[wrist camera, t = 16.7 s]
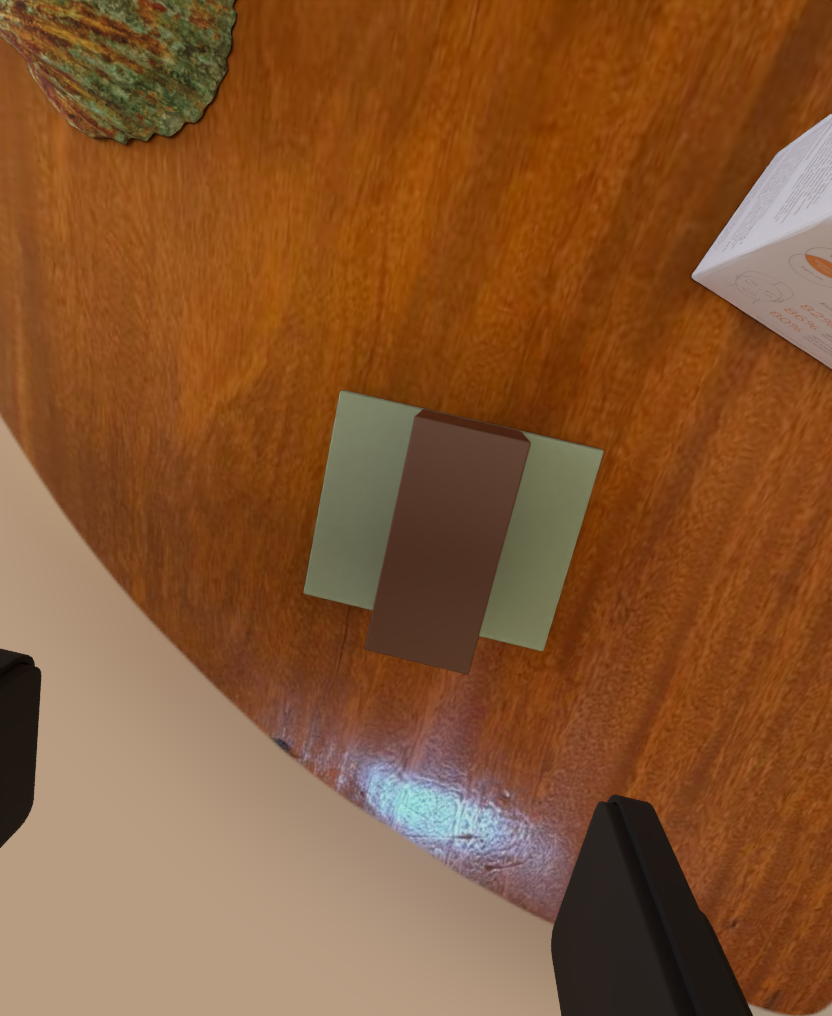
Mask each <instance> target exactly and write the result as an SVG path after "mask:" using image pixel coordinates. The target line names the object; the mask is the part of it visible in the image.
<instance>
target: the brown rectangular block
mask: <svg viewBox="0 0 832 1016" xmlns="http://www.w3.org/2000/svg"><path fill="white" fill-rule="evenodd" d="M530 446H531V442H530V441H529V440H528V439H527V437H526V436H525V435H524V434H523V433H522V432H521V431H518V430H514V429H510V428H505V427H501V426H496V425H492V424H488V423H483V422H479V421H475V420H470V419H466V418H462V417H457V416H453V415H448V414H444V413H440V412H435V411H431V410H427V409H423V410H421V411H420V412H419V413H418V414H417V415H416V416H415V417H414V421H413V426H412V430H411V435H410V439H409V444H408V449H407V453H406V458H405V463H404V467H403V472H402V476H401V481H400V486H399V490H398V495H397V499H396V504H395V509H394V513H393V518H392V522H391V527H390V532H389V536H388V541H387V546H386V550H385V555H384V559H383V564H382V569H381V573H380V578H379V582H378V587H377V592H376V596H375V601H374V606H373V610H372V615H371V619H370V624H369V629H368V633H367V638H366V642H365V647H364V648H365V650H368V651H373V652H377V653H381V654H385V655H389V656H393V657H397V658H401V659H405V660H409V661H413V662H418V663H422V664H426V665H430V666H434V667H438V668H442V669H446V670H450V671H454V672H459V673H463V674H469V671H470V667H471V664H472V660H473V656H474V652H475V649H476V645H477V641H478V638H479V634H480V630H481V627H482V623H483V619H484V616H485V612H486V608H487V604H488V601H489V597H490V593H491V590H492V586H493V582H494V579H495V575H496V571H497V568H498V564H499V560H500V556H501V553H502V549H503V545H504V542H505V538H506V534H507V531H508V527H509V523H510V519H511V516H512V512H513V508H514V505H515V501H516V497H517V494H518V490H519V486H520V483H521V479H522V475H523V471H524V468H525V464H526V460H527V457H528V453H529V449H530Z"/></svg>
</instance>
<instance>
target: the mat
mask: <svg viewBox="0 0 832 1016" xmlns="http://www.w3.org/2000/svg"><path fill="white" fill-rule="evenodd" d="M423 409H425V408H420V407H416V406H411V405H407V404H403V403H398V402H394V401H390V400H385V399H381V398H376V397H372V396H368V395H363V394H359V393H355V392H350V391H346V390H343V391H340V395H339V401H338V406H337V412H336V417H335V422H334V428H333V433H332V439H331V444H330V450H329V455H328V461H327V466H326V472H325V477H324V483H323V488H322V494H321V499H320V505H319V510H318V516H317V521H316V527H315V532H314V538H313V543H312V549H311V554H310V560H309V565H308V571H307V576H306V582H305V587H304V594H307V595H312V596H316V597H320V598H324V599H328V600H332V601H336V602H341V603H345V604H349V605H353V606H357V607H361V608H365V609H370V610H373V606H374V601H375V596H376V592H377V587H378V582H379V578H380V573H381V569H382V564H383V559H384V555H385V550H386V546H387V541H388V536H389V532H390V527H391V522H392V518H393V513H394V509H395V504H396V499H397V495H398V490H399V486H400V481H401V476H402V472H403V467H404V463H405V458H406V453H407V449H408V444H409V439H410V435H411V430H412V426H413V421H414V417H415V416H416V415H417V414H418V413H419V412H420V411H421V410H423ZM427 410H429V409H427ZM431 411H433V410H431ZM435 412H438V411H435ZM440 413H442V412H440ZM444 414H446V413H444ZM448 415H451V414H448ZM453 416H455V415H453ZM457 417H459V416H457ZM462 418H464V417H462ZM466 419H468V418H466ZM470 420H473V419H470ZM475 421H477V420H475ZM479 422H481V421H479ZM483 423H486V422H483ZM488 424H490V423H488ZM492 425H494V424H492ZM496 426H499V425H496ZM501 427H503V426H501ZM505 428H507V427H505ZM510 429H512V428H510ZM514 430H516V429H514ZM518 431H521V430H518ZM521 432H522V433H523V434H524V435H525V436H526V437H527V439H528V440H529V441H530V442H531V446H530V449H529V453H528V457H527V460H526V464H525V468H524V471H523V475H522V479H521V483H520V486H519V490H518V494H517V497H516V501H515V505H514V508H513V512H512V516H511V519H510V523H509V527H508V531H507V534H506V538H505V542H504V545H503V549H502V553H501V556H500V560H499V564H498V568H497V571H496V575H495V579H494V582H493V586H492V590H491V593H490V597H489V601H488V604H487V608H486V612H485V616H484V619H483V623H482V627H481V630H480V634H479V636H481V637H485V638H490V639H494V640H498V641H502V642H506V643H510V644H514V645H518V646H523V647H527V648H531V649H535V650H539V651H543V650H544V647H545V644H546V640H547V637H548V634H549V630H550V627H551V624H552V621H553V617H554V614H555V611H556V607H557V604H558V601H559V597H560V594H561V591H562V588H563V584H564V581H565V578H566V574H567V571H568V568H569V565H570V561H571V558H572V555H573V551H574V548H575V545H576V542H577V538H578V535H579V532H580V528H581V525H582V522H583V518H584V515H585V512H586V509H587V505H588V502H589V499H590V495H591V492H592V489H593V486H594V482H595V479H596V476H597V472H598V469H599V466H600V463H601V459H602V456H603V453H604V452H603V450H601V449H599V448H595V447H590V446H586V445H582V444H577V443H573V442H569V441H564V440H560V439H555V438H551V437H547V436H542V435H538V434H534V433H529V432H525V431H521Z"/></svg>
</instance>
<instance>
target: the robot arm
mask: <svg viewBox="0 0 832 1016" xmlns="http://www.w3.org/2000/svg"><path fill="white" fill-rule="evenodd" d="M40 689H41V671H40V669H39V668H38V667H35V664H34V660H33V658H32V657H30V656H29V655H25V654H21V653H17V652H13V651H8V650H4V649H0V848H1V847H2V846H3V845H4V844H5V842H6V841H7V840H8V839H9V838H10V837H11V836H12V835H13V834H14V833H15V832H16V831H17V830H18V829H19V828H20V827H21V825H22V824H23V823H24V822H25V820H26V818H27V817H28V815H29V813H30V811H31V808H32V805H33V800H34V786H35V770H36V754H37V753H36V752H37V737H38V721H39V705H40ZM551 952H552V960H553V965H554V972H555V979H556V984H557V990H558V997H559V1002H560V1009H561V1016H753V1015H752V1012H751V1010H750V1008H749V1006H748V1004H747V1002H746V999H745V997H744V995H743V993H742V991H741V988H740V986H739V984H738V982H737V980H736V978H735V975H734V973H733V971H732V969H731V967H730V965H729V962H728V960H727V958H726V956H725V954H724V951H723V949H722V947H721V945H720V943H719V941H718V938H717V936H716V934H715V932H714V930H713V927H712V926H711V924H710V922H709V920H708V919H707V917H706V915H705V914H703V913H702V912H701V911H700V910H699V907H698V905H697V903H696V901H695V898H694V896H693V894H692V892H691V890H690V887H689V885H688V883H687V881H686V878H685V876H684V874H683V872H682V870H681V867H680V865H679V863H678V861H677V858H676V856H675V854H674V852H673V850H672V847H671V845H670V843H669V841H668V838H667V836H666V834H665V832H664V830H663V827H662V825H661V823H660V821H659V818H658V816H657V814H656V812H655V810H654V808H653V806H652V805H651V804H650V803H648V802H644V801H640V800H636V799H632V798H627V797H623V796H619V795H612V796H611V797H610V798H609V800H608V802H603V801H601V802H599V803H598V804H597V806H596V808H595V811H594V814H593V817H592V820H591V823H590V825H589V828H588V831H587V834H586V837H585V839H584V842H583V845H582V848H581V851H580V853H579V856H578V859H577V862H576V865H575V868H574V870H573V873H572V876H571V879H570V882H569V884H568V887H567V890H566V893H565V896H564V898H563V901H562V904H561V907H560V910H559V913H558V915H557V918H556V921H555V924H554V927H553V931H552V939H551Z"/></svg>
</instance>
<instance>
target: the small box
mask: <svg viewBox="0 0 832 1016" xmlns="http://www.w3.org/2000/svg"><path fill="white" fill-rule="evenodd" d="M692 278H693V279H694V280H695V281H697V282H699V283H700V284H702V285H703V286H705V287H706V288H708V289H710V290H711V291H713V292H714V293H716V294H717V295H719V296H720V297H722V298H723V299H725V300H727V301H728V302H730V303H731V304H733V305H734V306H736V307H737V308H739V309H740V310H742V311H744V312H745V313H747V314H748V315H750V316H751V317H753V318H754V319H756V320H757V321H759V322H760V323H762V324H763V325H765V326H766V327H768V328H769V329H771V330H773V331H774V332H776V333H777V334H779V335H780V336H782V337H783V338H785V339H786V340H788V341H789V342H791V343H792V344H794V345H795V346H797V347H799V348H800V349H802V350H803V351H805V352H807V353H808V354H810V355H811V356H813V357H814V358H816V359H817V360H819V361H820V362H822V363H823V364H825V365H826V366H828V367H829V368H831V369H832V114H830V115H829V116H827V117H826V118H825V119H823V120H822V121H820V122H819V123H818V124H816V125H815V126H813V127H812V128H811V129H809V130H808V131H806V132H805V133H804V134H803V135H801V136H800V137H798V138H797V139H796V140H794V141H793V142H792V143H790V144H789V145H788V146H786V147H785V148H784V149H782V150H781V151H779V152H778V153H777V154H776V155H775V157H774V158H773V160H772V161H771V162H770V164H769V165H768V167H767V168H766V169H765V171H764V172H763V173H762V175H761V176H760V178H759V179H758V180H757V182H756V183H755V185H754V186H753V188H752V189H751V190H750V192H749V193H748V195H747V196H746V197H745V199H744V200H743V202H742V203H741V205H740V206H739V208H738V209H737V210H736V212H735V213H734V215H733V216H732V218H731V219H730V220H729V222H728V223H727V225H726V226H725V228H724V229H723V231H722V232H721V233H720V235H719V236H718V238H717V239H716V241H715V242H714V243H713V245H712V246H711V248H710V249H709V250H708V252H707V253H706V255H705V256H704V258H703V259H702V261H701V262H700V264H699V265H698V267H697V268H696V270H695V271H694V273H693V274H692Z"/></svg>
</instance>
